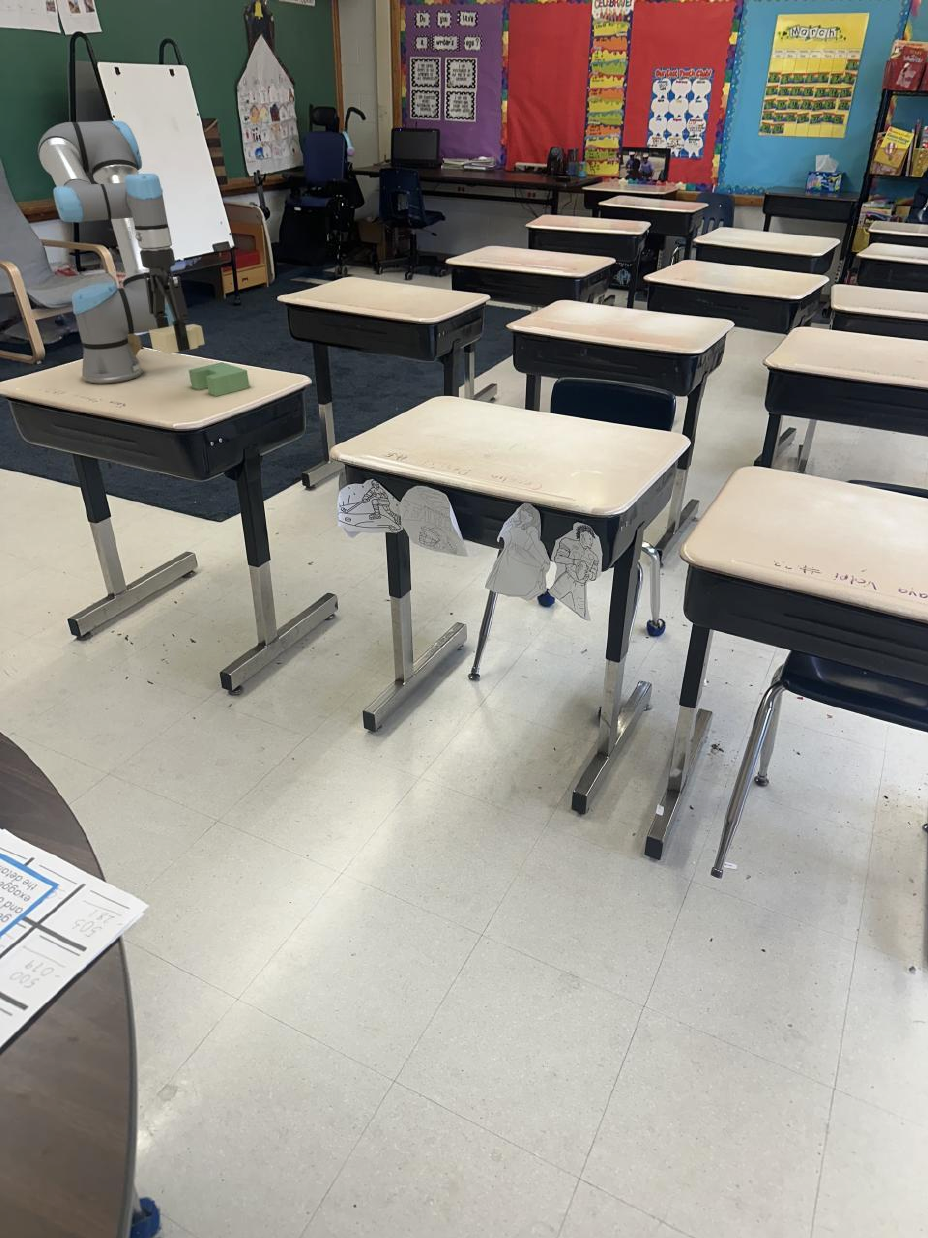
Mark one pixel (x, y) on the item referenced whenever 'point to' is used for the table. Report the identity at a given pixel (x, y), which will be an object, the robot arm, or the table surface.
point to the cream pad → (167, 339)
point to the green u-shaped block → (219, 378)
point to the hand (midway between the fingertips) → (175, 347)
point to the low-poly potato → (134, 343)
